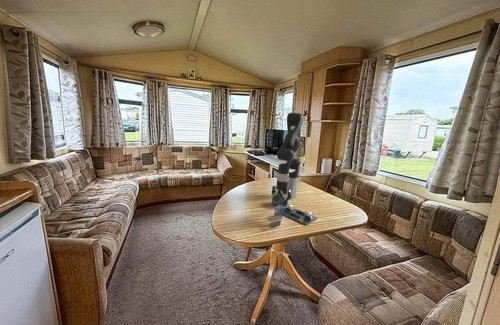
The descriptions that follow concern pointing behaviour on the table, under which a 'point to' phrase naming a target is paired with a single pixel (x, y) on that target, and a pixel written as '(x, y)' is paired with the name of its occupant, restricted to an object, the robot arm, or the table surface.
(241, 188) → the table surface
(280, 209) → the block with round knob
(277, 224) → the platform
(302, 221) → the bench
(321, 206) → the table surface
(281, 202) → the small box
